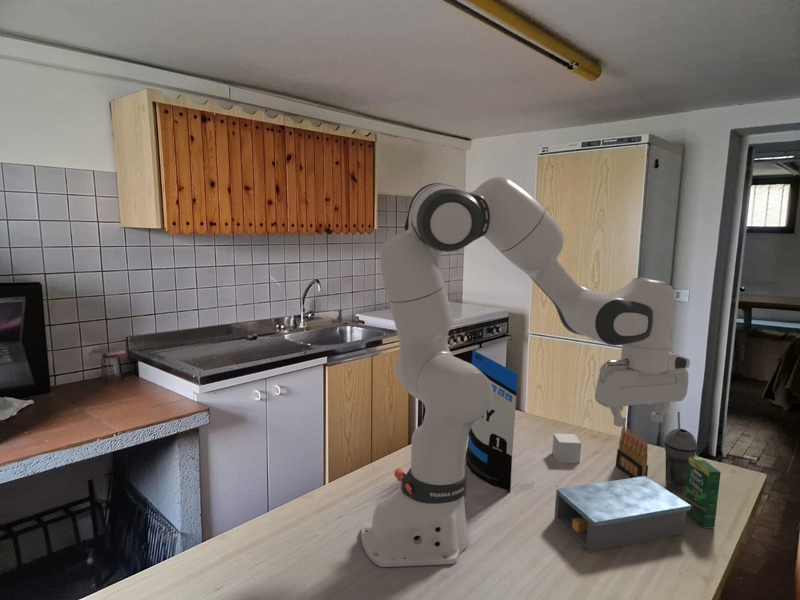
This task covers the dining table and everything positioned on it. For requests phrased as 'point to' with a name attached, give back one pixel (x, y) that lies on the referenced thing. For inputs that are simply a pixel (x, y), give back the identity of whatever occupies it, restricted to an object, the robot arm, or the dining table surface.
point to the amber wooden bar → (580, 524)
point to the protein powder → (494, 427)
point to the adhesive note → (566, 448)
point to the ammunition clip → (632, 454)
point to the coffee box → (702, 491)
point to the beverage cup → (678, 457)
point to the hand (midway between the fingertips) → (638, 423)
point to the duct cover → (621, 500)
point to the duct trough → (619, 528)
